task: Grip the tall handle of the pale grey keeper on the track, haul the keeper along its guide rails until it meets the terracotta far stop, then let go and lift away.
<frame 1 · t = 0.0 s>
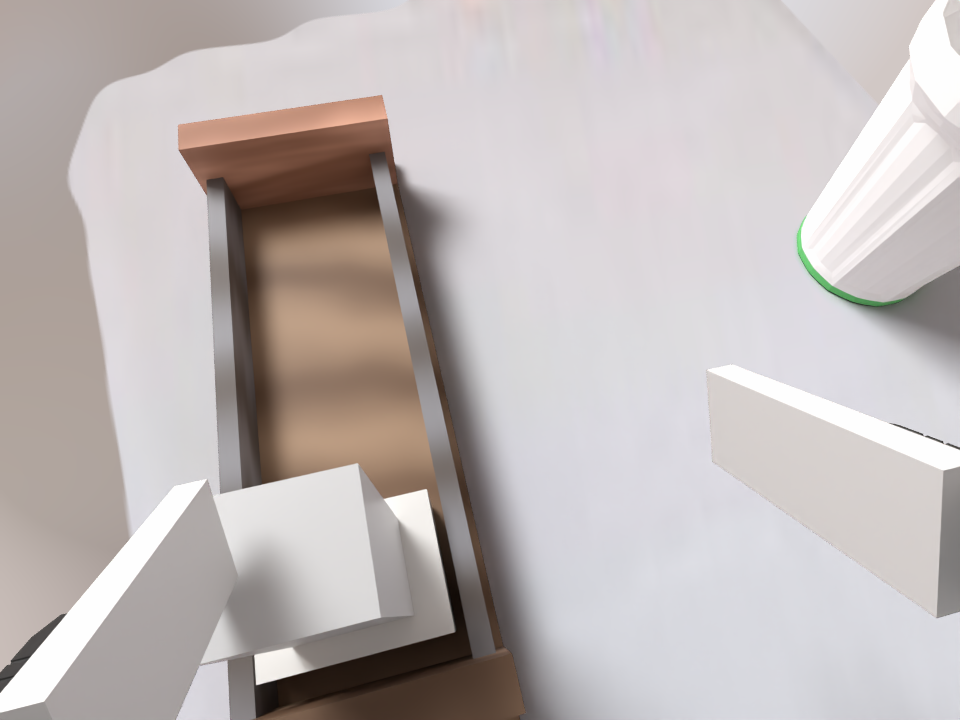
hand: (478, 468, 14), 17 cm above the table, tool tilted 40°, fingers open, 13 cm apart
track: (342, 403, 33), on the table
cup: (855, 255, 38), on the table
keeper: (332, 575, 21), point 9 cm above the table, slide at 0.7 cm, touching gripper
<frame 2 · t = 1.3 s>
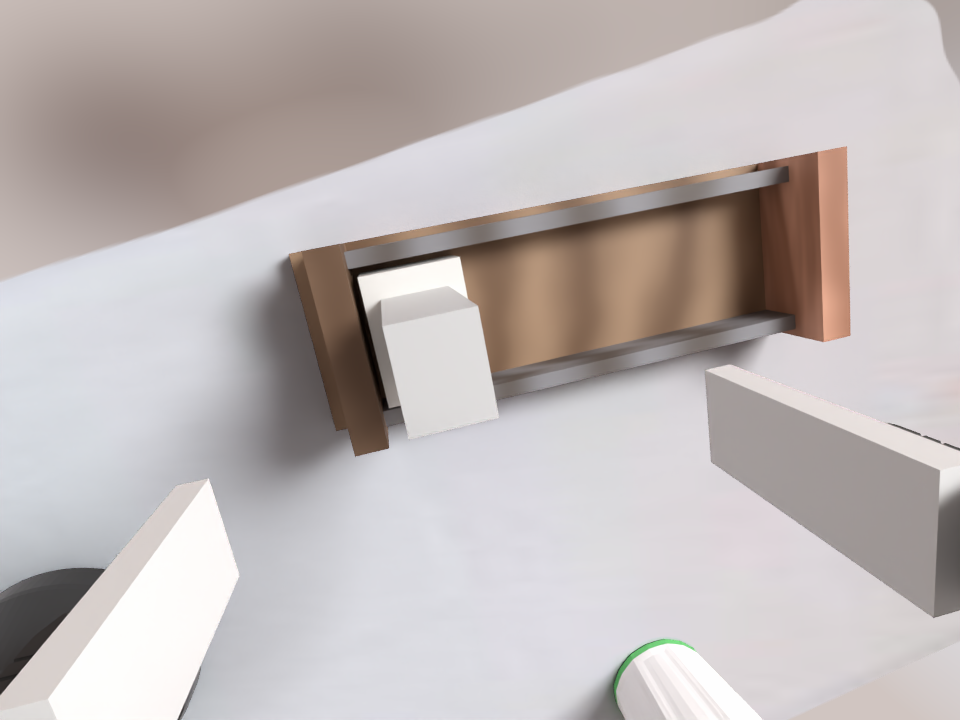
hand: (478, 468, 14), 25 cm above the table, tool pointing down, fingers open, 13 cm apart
track: (567, 287, 40), on the table
cup: (656, 678, 49), on the table
keeper: (428, 343, 30), point 9 cm above the table, slide at 0.0 cm
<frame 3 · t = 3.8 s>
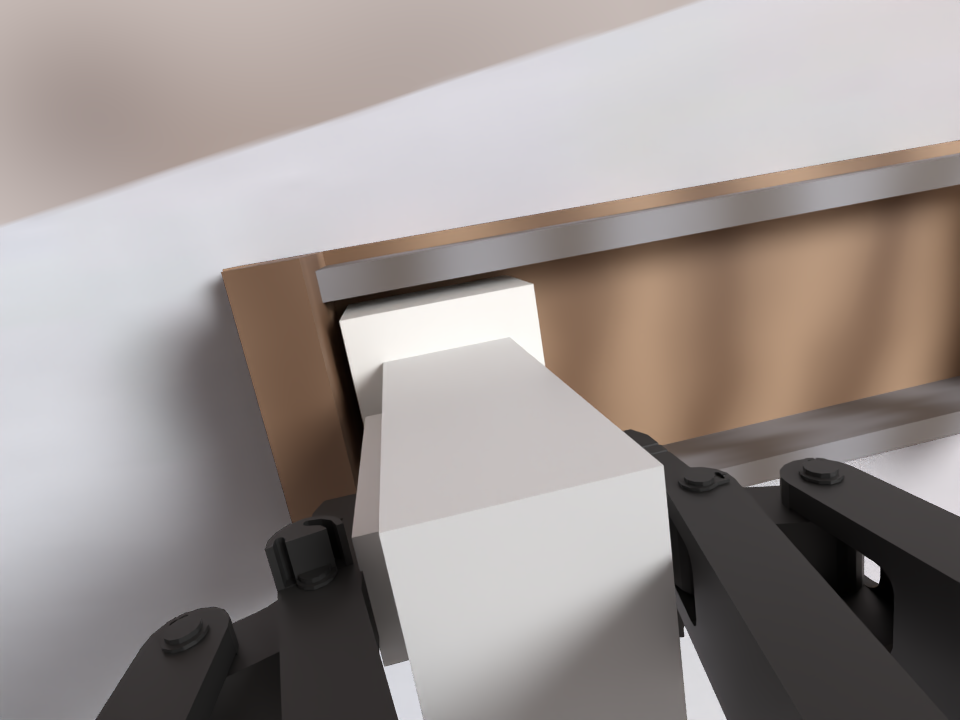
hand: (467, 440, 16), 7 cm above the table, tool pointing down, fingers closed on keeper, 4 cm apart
track: (686, 328, 24), on the table
keeper: (475, 461, 15), point 9 cm above the table, slide at 0.0 cm, touching gripper
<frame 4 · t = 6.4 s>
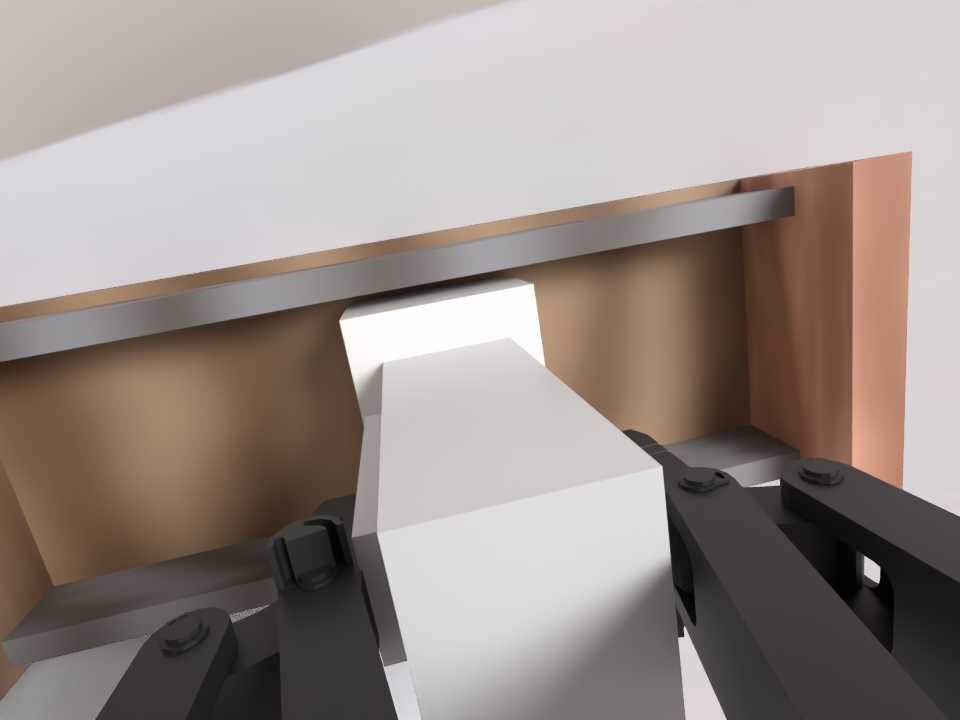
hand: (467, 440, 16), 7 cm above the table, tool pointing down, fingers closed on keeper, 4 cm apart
track: (406, 386, 23), on the table
keeper: (475, 461, 15), point 9 cm above the table, slide at 12.6 cm, touching gripper
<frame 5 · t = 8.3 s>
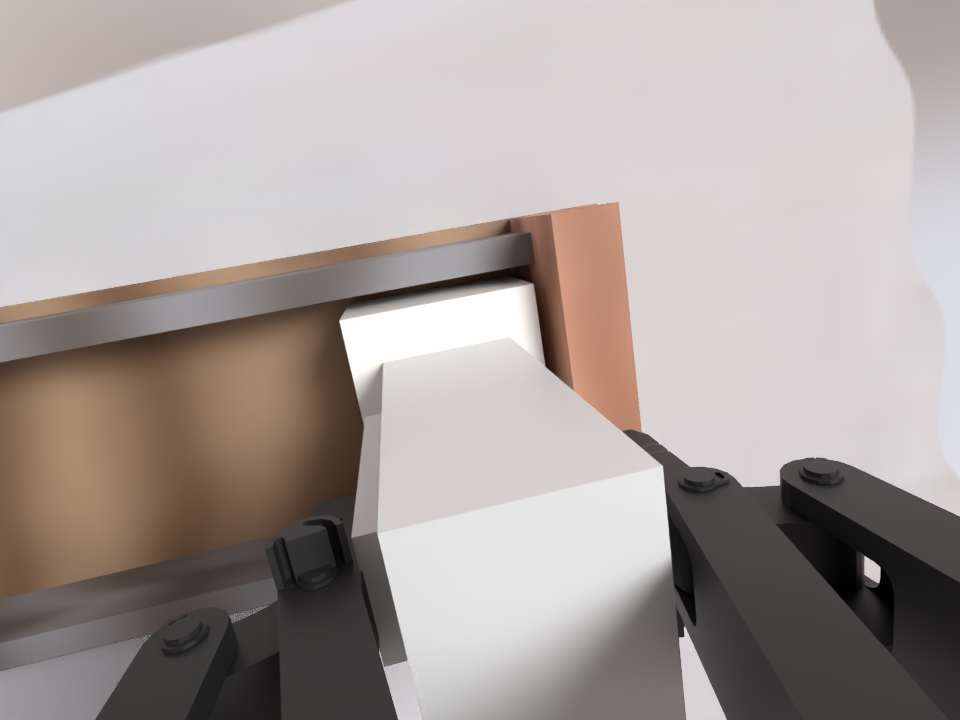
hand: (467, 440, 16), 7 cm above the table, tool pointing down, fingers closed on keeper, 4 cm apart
track: (171, 435, 22), on the table
keeper: (475, 461, 15), point 9 cm above the table, slide at 22.1 cm, touching gripper
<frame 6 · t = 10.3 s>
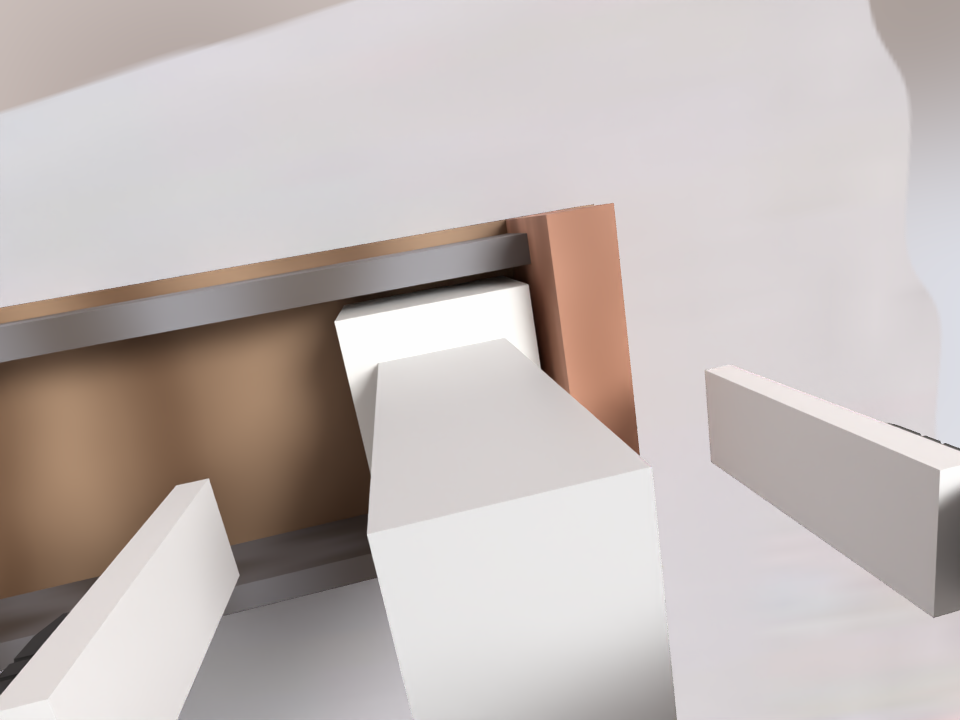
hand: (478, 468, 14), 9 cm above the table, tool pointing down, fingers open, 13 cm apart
track: (168, 436, 22), on the table
keeper: (470, 461, 15), point 9 cm above the table, slide at 22.0 cm
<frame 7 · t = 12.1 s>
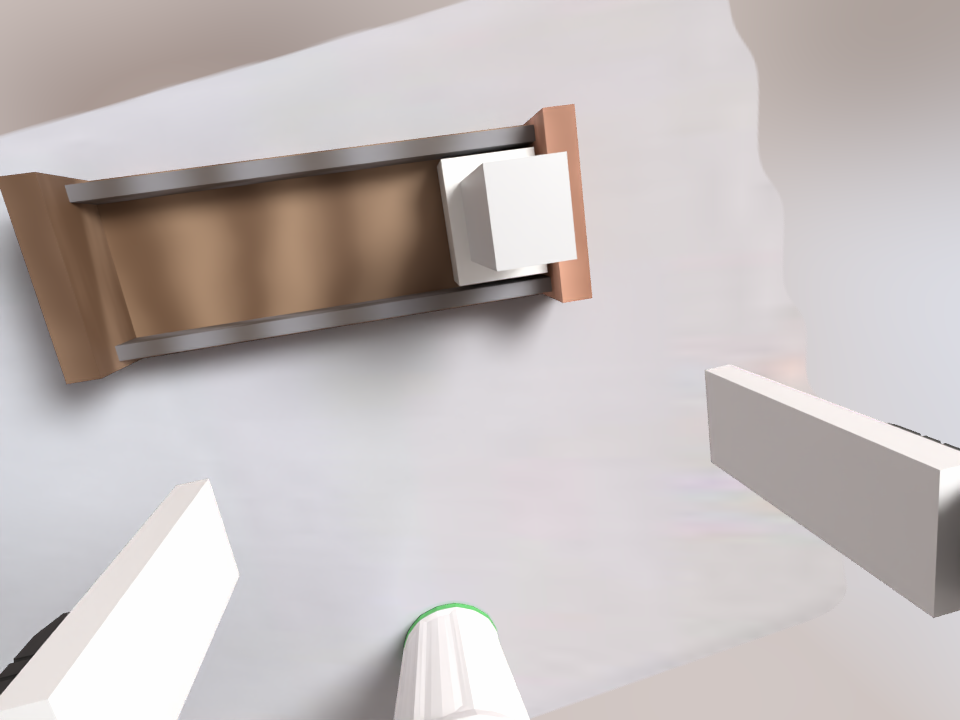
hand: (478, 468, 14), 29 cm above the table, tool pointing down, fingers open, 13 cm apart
track: (335, 241, 40), on the table
cup: (451, 642, 49), on the table
keeper: (504, 216, 33), point 9 cm above the table, slide at 22.0 cm
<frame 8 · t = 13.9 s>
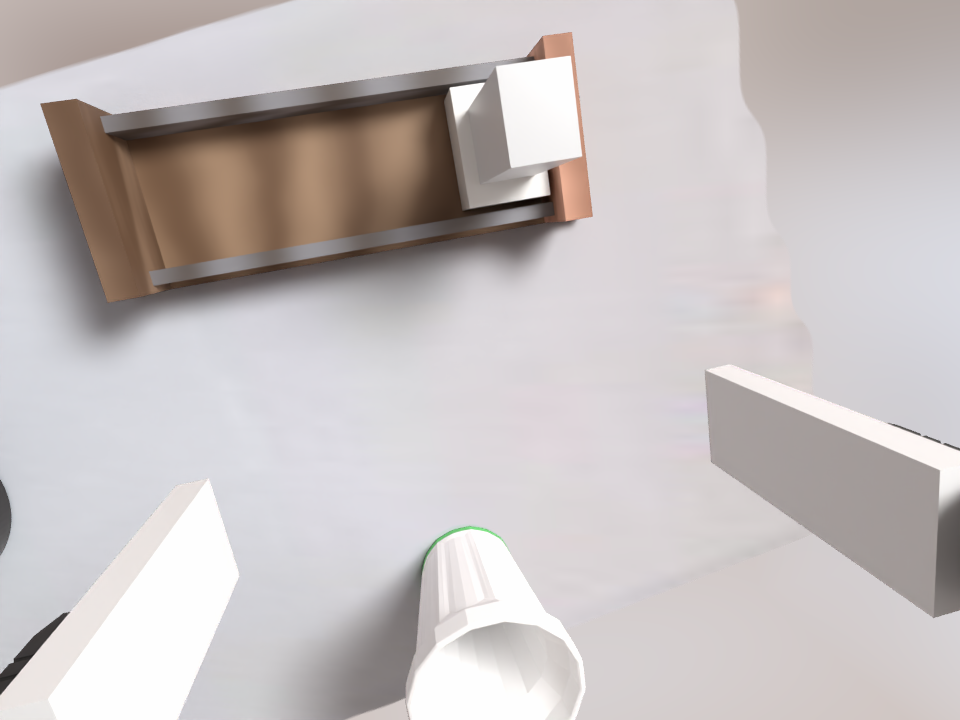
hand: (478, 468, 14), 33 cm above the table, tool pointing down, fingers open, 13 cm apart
track: (349, 176, 43), on the table
cup: (466, 565, 52), on the table
keeper: (511, 135, 36), point 9 cm above the table, slide at 22.0 cm
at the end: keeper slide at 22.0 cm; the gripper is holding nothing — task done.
